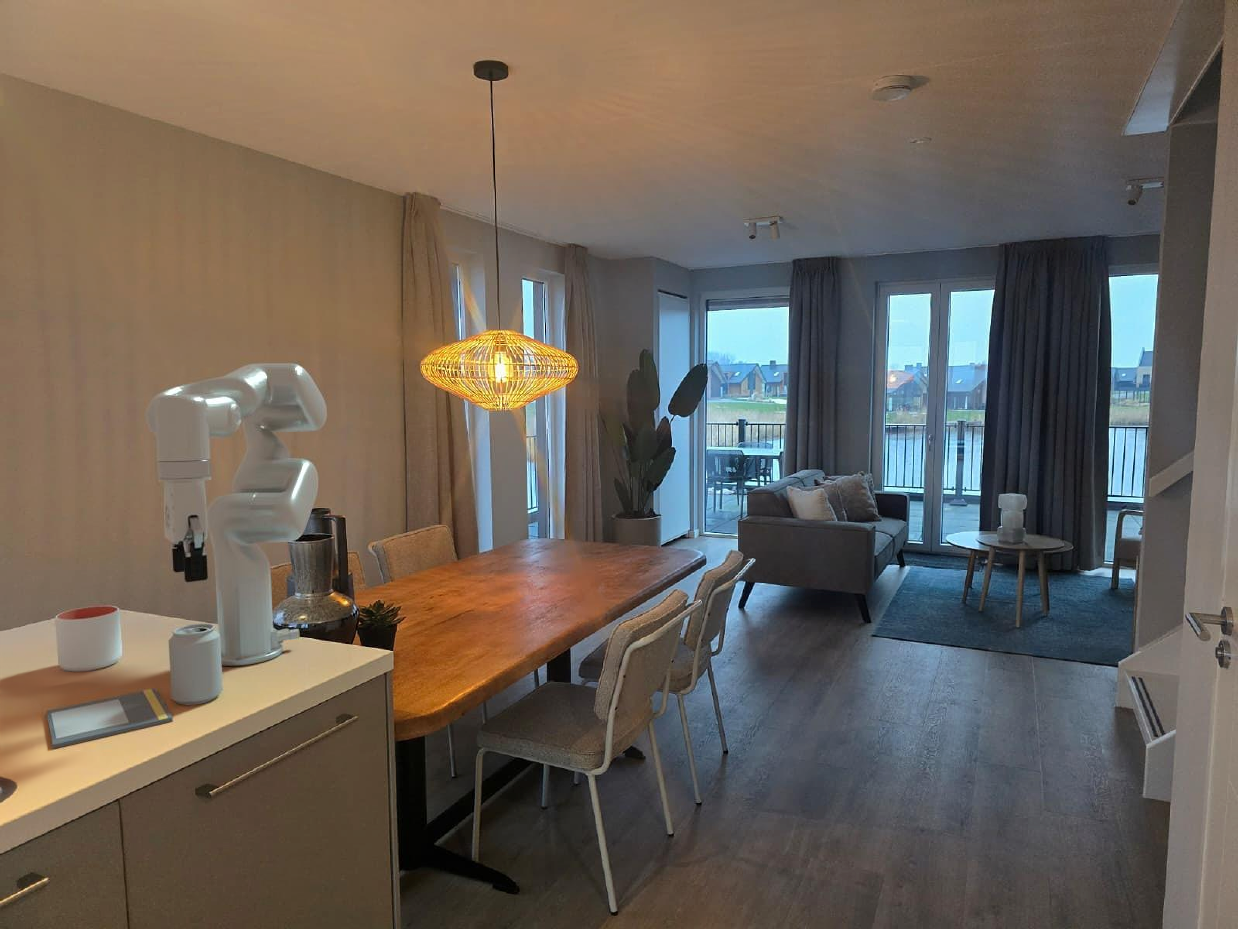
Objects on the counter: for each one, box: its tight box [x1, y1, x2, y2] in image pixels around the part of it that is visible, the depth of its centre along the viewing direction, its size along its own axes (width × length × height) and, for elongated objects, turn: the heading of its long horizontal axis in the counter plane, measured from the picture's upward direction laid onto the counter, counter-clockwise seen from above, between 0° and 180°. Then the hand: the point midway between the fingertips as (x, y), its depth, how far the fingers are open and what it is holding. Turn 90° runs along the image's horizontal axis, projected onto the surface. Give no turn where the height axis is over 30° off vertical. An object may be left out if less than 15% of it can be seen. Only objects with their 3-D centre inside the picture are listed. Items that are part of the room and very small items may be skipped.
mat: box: [45, 688, 174, 749], centre depth 123 cm, size 15×16×1 cm
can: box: [168, 623, 224, 706], centre depth 130 cm, size 8×8×12 cm
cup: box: [54, 605, 123, 673], centre depth 148 cm, size 10×10×10 cm
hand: (190, 575), depth 129 cm, fingers open, 9 cm apart
